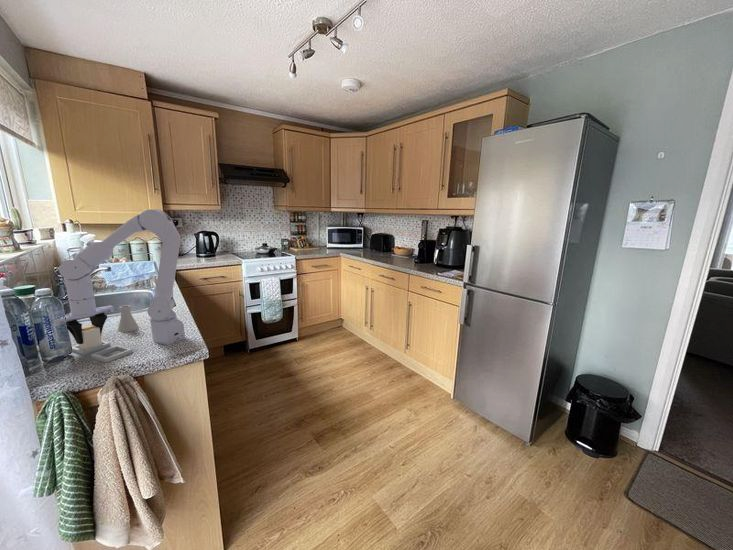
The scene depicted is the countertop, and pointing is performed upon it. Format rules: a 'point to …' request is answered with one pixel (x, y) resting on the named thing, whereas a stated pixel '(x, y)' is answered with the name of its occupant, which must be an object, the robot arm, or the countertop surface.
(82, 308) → the robot arm
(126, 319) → the flask
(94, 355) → the panel
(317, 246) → the countertop surface
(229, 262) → the countertop surface
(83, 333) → the plug
